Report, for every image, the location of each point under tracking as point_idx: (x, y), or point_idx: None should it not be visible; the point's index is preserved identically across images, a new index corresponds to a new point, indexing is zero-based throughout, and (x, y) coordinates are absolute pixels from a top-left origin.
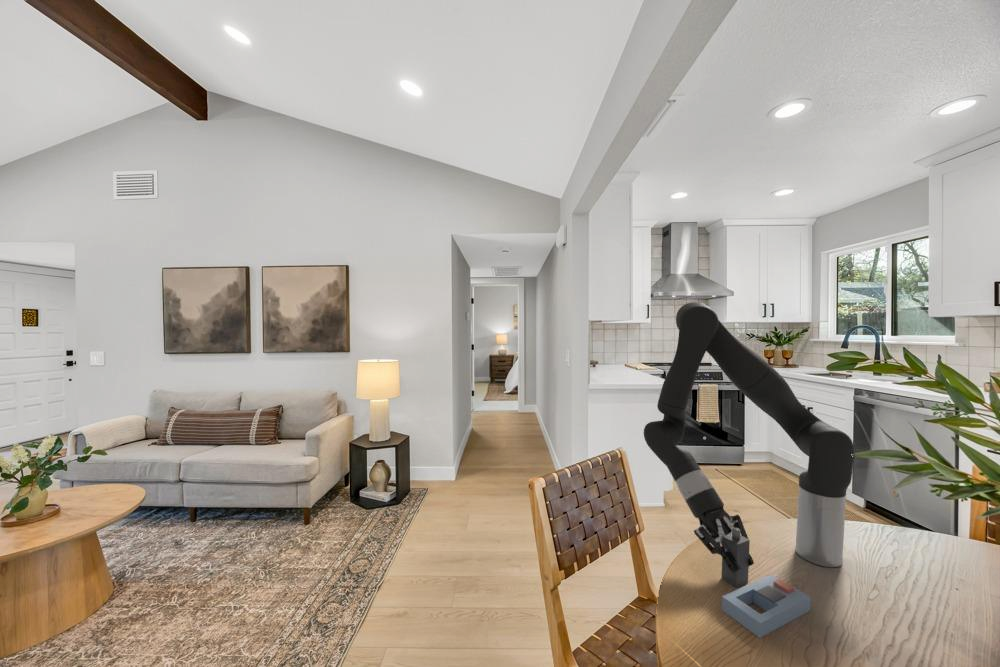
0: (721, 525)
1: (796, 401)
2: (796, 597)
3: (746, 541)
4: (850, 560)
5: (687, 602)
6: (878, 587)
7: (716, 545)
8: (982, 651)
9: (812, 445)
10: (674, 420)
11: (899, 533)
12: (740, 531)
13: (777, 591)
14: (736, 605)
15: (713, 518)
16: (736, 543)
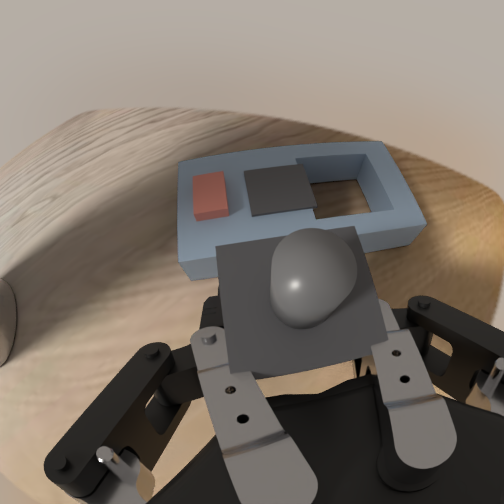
0: (394, 409)
1: None
2: (217, 165)
3: (252, 243)
4: None
5: (464, 292)
6: (17, 218)
7: (441, 311)
8: (77, 117)
9: None
10: None
11: None
12: (289, 237)
13: (250, 187)
14: (408, 188)
15: (429, 496)
16: (354, 237)
